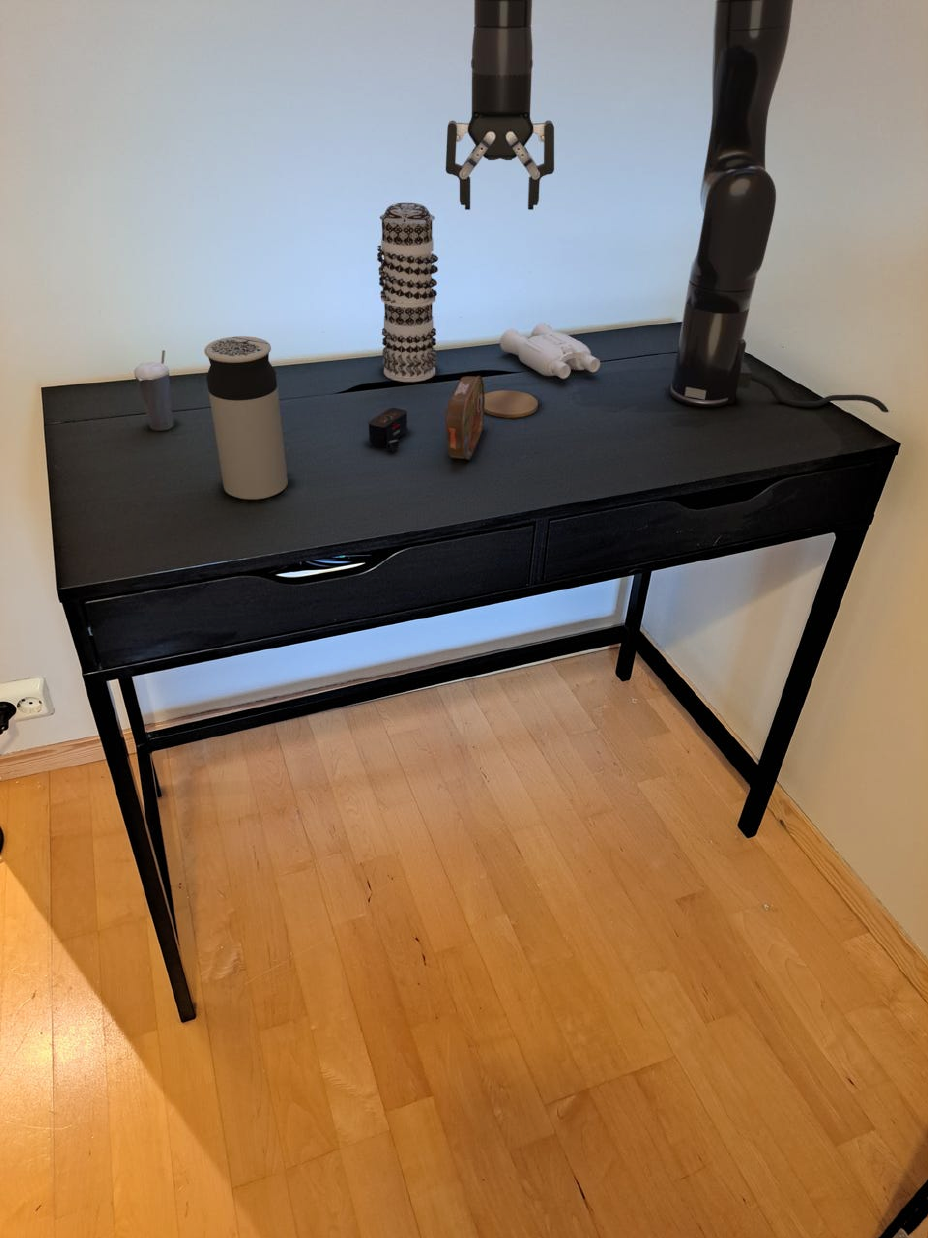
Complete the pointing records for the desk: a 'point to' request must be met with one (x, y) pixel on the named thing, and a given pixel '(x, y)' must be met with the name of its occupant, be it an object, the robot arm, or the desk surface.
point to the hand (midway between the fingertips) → (498, 208)
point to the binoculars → (549, 351)
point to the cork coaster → (509, 404)
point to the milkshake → (155, 393)
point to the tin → (465, 417)
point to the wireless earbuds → (388, 428)
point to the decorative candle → (408, 292)
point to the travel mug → (246, 417)
